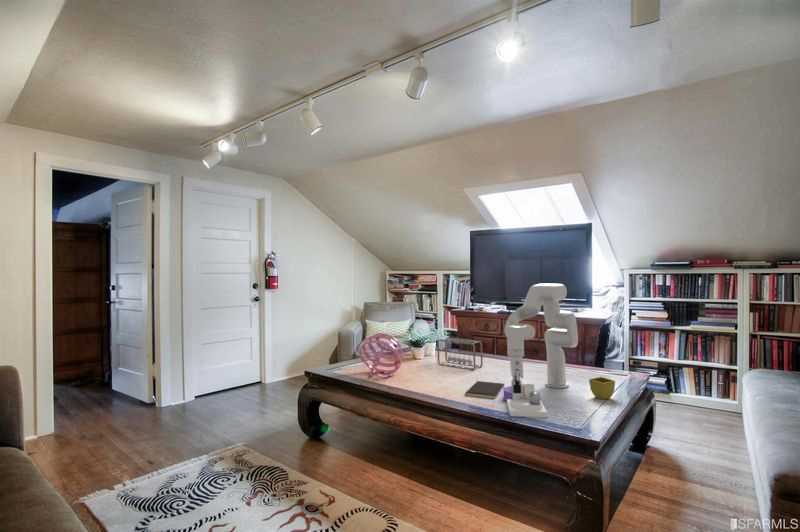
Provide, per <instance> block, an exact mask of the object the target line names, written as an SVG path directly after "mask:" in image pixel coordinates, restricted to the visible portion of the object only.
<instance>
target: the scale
mask: <svg viewBox="0 0 800 532" xmlns="http://www.w3.org/2000/svg"><path fill="white" fill-rule="evenodd" d="M531 391H535V383H534V382H522V393H513V400H512V399H507V401H506V406H507V410H508V414H509V416H510V417H522V416H523V417H524V416H525V417H527V418H548V410H547V409H546V407H545V405H544V404H543V401H542V400H541V399H540V405H532V404H530V392H531Z"/></svg>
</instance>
